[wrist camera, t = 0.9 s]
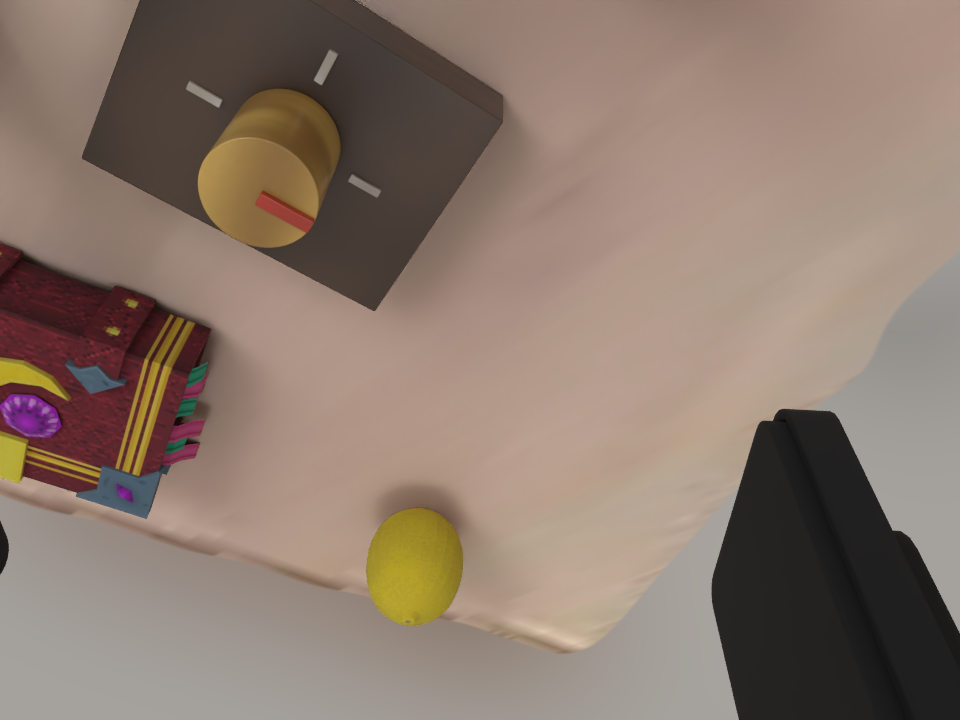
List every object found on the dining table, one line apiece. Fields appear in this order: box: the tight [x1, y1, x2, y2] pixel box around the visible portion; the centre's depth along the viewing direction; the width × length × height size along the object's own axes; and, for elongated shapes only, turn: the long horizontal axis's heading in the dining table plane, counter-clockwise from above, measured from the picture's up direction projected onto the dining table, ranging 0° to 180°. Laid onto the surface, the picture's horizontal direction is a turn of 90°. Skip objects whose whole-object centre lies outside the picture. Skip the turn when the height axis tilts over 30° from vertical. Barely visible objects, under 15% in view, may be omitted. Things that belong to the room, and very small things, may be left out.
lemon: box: [366, 508, 463, 626], centre depth 49 cm, size 6×6×8 cm
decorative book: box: [0, 244, 211, 518], centre depth 44 cm, size 11×16×5 cm
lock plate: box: [82, 0, 503, 311], centre depth 36 cm, size 14×11×3 cm
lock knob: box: [198, 89, 341, 248], centre depth 33 cm, size 4×4×5 cm
